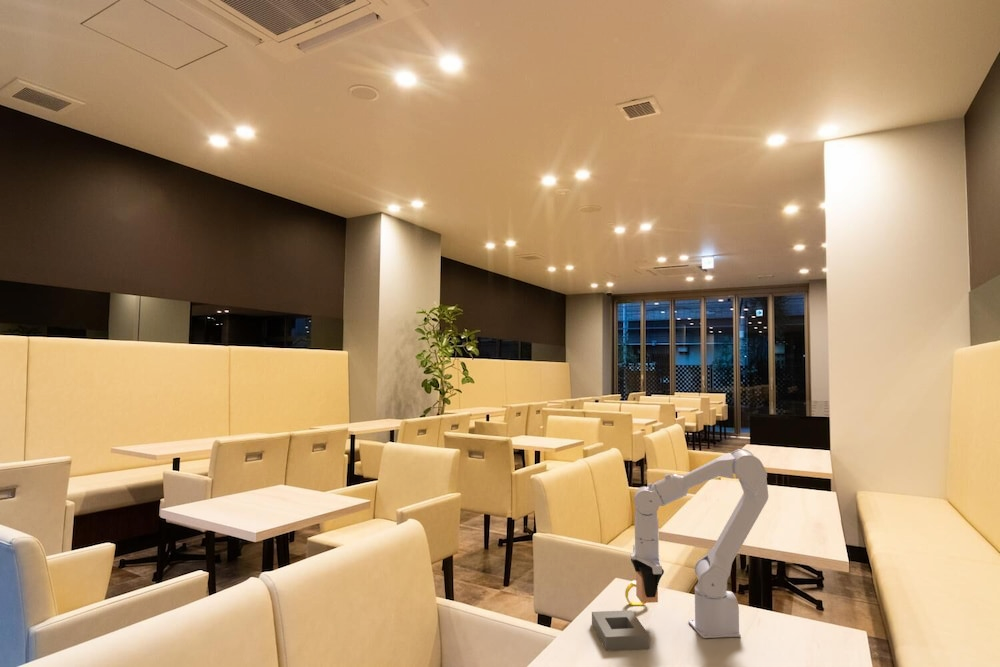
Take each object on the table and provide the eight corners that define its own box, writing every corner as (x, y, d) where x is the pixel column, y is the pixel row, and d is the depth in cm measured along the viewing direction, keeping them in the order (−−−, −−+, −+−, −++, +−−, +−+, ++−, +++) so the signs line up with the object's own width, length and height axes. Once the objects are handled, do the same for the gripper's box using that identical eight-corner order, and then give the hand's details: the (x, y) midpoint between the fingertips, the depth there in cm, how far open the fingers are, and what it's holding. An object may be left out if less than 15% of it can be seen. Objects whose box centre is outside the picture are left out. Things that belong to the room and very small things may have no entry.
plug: (651, 595, 136) (651, 570, 137) (657, 602, 132) (657, 577, 133) (636, 595, 136) (636, 571, 136) (641, 602, 132) (641, 577, 132)
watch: (628, 608, 142) (626, 585, 142) (624, 603, 145) (623, 581, 145) (650, 606, 142) (648, 583, 143) (646, 601, 145) (645, 579, 145)
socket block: (631, 622, 134) (631, 610, 134) (649, 648, 122) (649, 635, 122) (591, 624, 133) (591, 611, 133) (605, 650, 121) (605, 637, 121)
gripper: (621, 528, 142) (622, 581, 141) (641, 547, 127) (641, 606, 127) (647, 527, 142) (648, 580, 142) (670, 546, 128) (670, 605, 127)
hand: (647, 592), depth 134 cm, fingers closed on plug, 4 cm apart
